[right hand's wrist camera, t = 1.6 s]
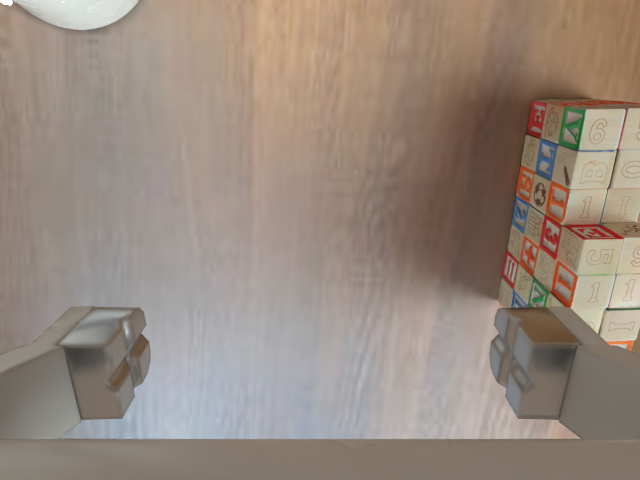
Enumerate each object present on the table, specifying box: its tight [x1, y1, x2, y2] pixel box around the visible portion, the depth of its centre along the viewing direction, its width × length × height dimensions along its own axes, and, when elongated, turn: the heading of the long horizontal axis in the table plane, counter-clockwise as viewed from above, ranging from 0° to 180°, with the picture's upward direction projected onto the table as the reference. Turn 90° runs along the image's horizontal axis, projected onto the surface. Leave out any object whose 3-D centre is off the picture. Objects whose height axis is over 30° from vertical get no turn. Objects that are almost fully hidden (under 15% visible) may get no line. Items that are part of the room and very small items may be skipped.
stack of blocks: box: [498, 99, 640, 351], centre depth 39 cm, size 21×6×12 cm, turn 0°
